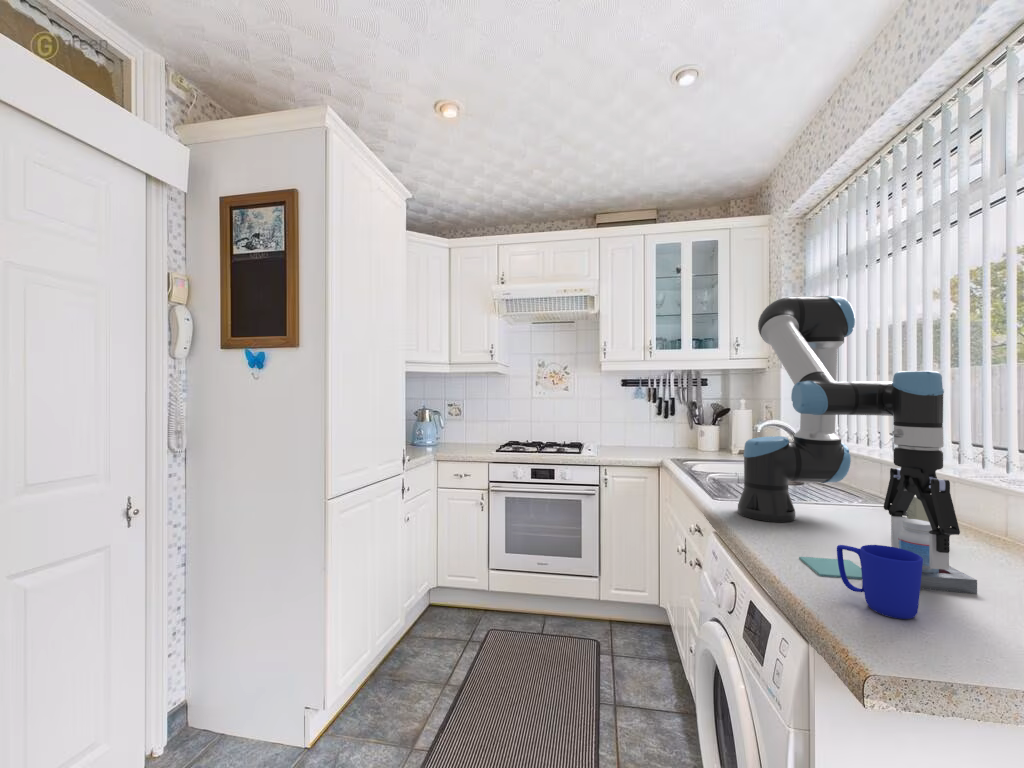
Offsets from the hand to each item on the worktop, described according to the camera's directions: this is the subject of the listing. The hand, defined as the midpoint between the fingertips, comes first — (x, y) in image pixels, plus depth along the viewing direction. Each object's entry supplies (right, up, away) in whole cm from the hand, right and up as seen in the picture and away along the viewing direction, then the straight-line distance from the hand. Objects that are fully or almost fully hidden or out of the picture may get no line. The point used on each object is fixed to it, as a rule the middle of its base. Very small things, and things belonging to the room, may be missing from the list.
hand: (918, 557), depth 93 cm
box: (+22, -5, +24) cm, 33 cm away
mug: (-18, -4, -13) cm, 23 cm away
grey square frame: (0, -4, 0) cm, 4 cm away
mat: (-13, -4, +5) cm, 15 cm away
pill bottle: (0, -4, 0) cm, 4 cm away
